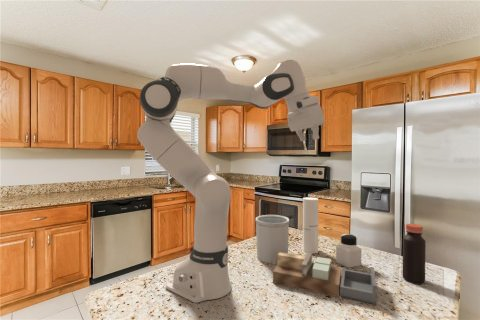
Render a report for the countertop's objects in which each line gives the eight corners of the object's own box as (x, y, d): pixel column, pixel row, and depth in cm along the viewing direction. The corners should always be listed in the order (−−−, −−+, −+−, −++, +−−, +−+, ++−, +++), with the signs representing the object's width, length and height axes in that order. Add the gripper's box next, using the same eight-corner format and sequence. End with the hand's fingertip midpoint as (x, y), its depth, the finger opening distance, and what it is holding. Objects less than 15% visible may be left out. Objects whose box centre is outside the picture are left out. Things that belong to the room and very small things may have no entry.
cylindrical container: (318, 253, 115) (319, 200, 115) (303, 252, 116) (303, 199, 116) (317, 248, 122) (317, 197, 122) (302, 247, 123) (302, 197, 123)
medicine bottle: (361, 265, 103) (362, 236, 102) (348, 268, 100) (348, 238, 100) (348, 259, 109) (348, 231, 109) (335, 261, 107) (335, 233, 106)
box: (340, 297, 79) (340, 278, 79) (342, 278, 92) (342, 262, 92) (376, 305, 75) (376, 286, 75) (373, 284, 87) (373, 267, 87)
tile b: (315, 270, 90) (315, 261, 90) (317, 264, 94) (317, 256, 94) (329, 272, 87) (329, 264, 87) (331, 267, 92) (331, 259, 92)
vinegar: (420, 276, 93) (420, 223, 93) (428, 285, 87) (429, 228, 86) (399, 274, 95) (400, 222, 95) (406, 283, 88) (407, 227, 88)
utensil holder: (281, 267, 100) (281, 224, 100) (249, 259, 108) (249, 219, 108) (293, 255, 113) (294, 217, 113) (264, 249, 121) (264, 213, 121)
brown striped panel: (272, 282, 89) (272, 271, 89) (283, 266, 101) (283, 257, 101) (339, 297, 79) (339, 284, 79) (341, 278, 92) (341, 267, 92)
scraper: (273, 270, 89) (273, 259, 89) (282, 257, 100) (282, 248, 100) (306, 276, 85) (306, 265, 85) (311, 263, 95) (311, 252, 95)
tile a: (312, 277, 84) (312, 268, 84) (314, 271, 89) (314, 262, 89) (328, 280, 82) (328, 271, 82) (329, 274, 87) (329, 265, 87)
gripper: (280, 111, 102) (290, 143, 103) (305, 101, 82) (316, 140, 83) (293, 107, 103) (303, 139, 104) (321, 96, 83) (332, 135, 85)
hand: (309, 140), depth 94 cm, fingers open, 8 cm apart
